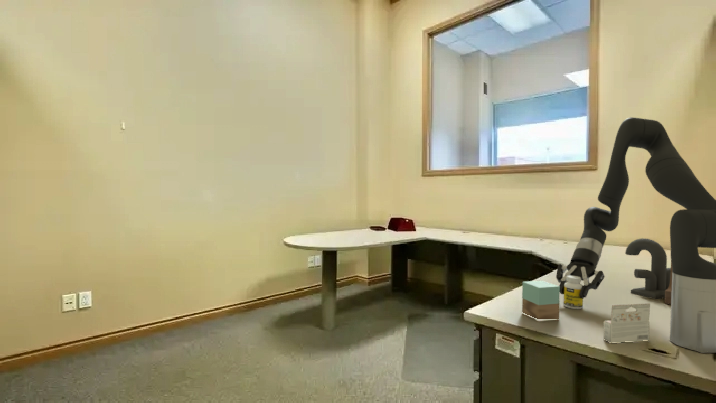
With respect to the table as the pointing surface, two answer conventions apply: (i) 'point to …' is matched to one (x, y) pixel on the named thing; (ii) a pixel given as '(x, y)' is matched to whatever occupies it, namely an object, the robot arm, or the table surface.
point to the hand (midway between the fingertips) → (571, 294)
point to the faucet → (659, 273)
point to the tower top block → (540, 292)
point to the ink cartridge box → (628, 323)
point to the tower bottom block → (540, 310)
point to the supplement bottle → (573, 293)
